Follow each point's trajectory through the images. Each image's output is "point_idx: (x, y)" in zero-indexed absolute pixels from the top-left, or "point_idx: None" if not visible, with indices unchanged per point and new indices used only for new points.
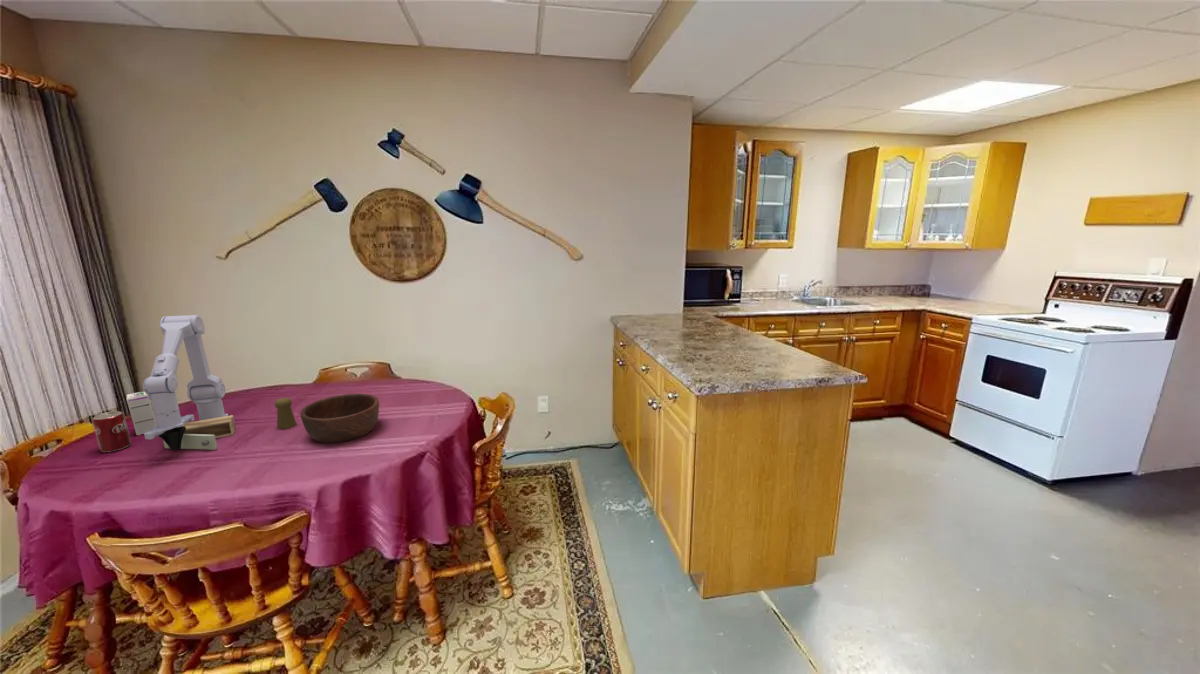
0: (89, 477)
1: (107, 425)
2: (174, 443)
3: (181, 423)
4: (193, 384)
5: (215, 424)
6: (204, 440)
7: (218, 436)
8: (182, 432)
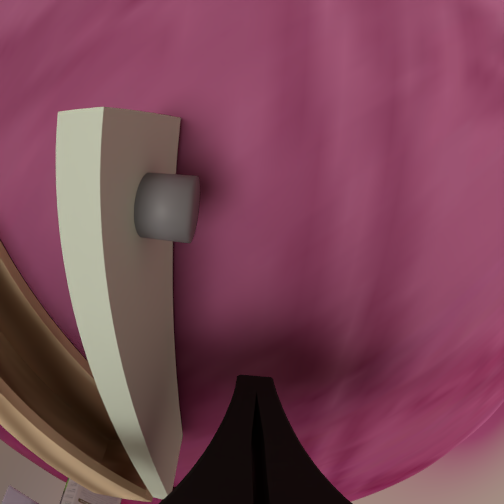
0: (395, 456)
1: None
2: (292, 433)
3: None
4: None
5: None
6: (138, 241)
7: (11, 271)
8: (209, 498)
